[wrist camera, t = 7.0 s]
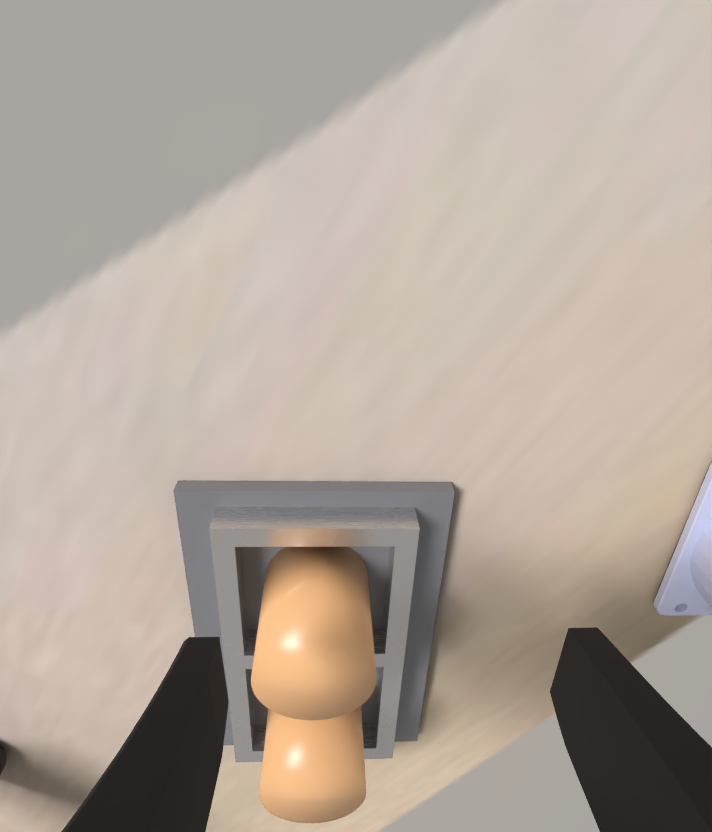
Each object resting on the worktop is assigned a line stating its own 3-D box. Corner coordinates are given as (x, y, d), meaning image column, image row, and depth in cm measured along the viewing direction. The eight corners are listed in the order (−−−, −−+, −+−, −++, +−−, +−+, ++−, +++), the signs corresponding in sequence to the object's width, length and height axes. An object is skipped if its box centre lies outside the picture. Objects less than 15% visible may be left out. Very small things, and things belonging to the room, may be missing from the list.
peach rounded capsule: (372, 540, 20) (382, 639, 16) (363, 615, 22) (370, 720, 18) (265, 536, 20) (250, 637, 16) (265, 613, 22) (251, 720, 18)
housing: (451, 482, 20) (487, 584, 16) (415, 728, 27) (432, 848, 23) (177, 480, 19) (132, 586, 15) (213, 733, 26) (190, 856, 22)
